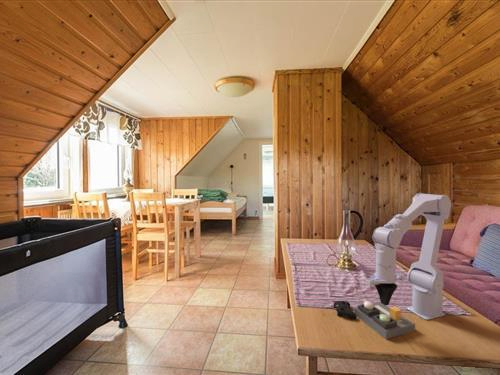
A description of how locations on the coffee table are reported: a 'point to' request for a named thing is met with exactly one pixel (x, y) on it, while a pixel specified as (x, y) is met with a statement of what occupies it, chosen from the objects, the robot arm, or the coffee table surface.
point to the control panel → (380, 327)
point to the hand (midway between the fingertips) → (384, 303)
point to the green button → (384, 318)
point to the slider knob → (395, 313)
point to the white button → (368, 305)
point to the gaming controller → (344, 309)
